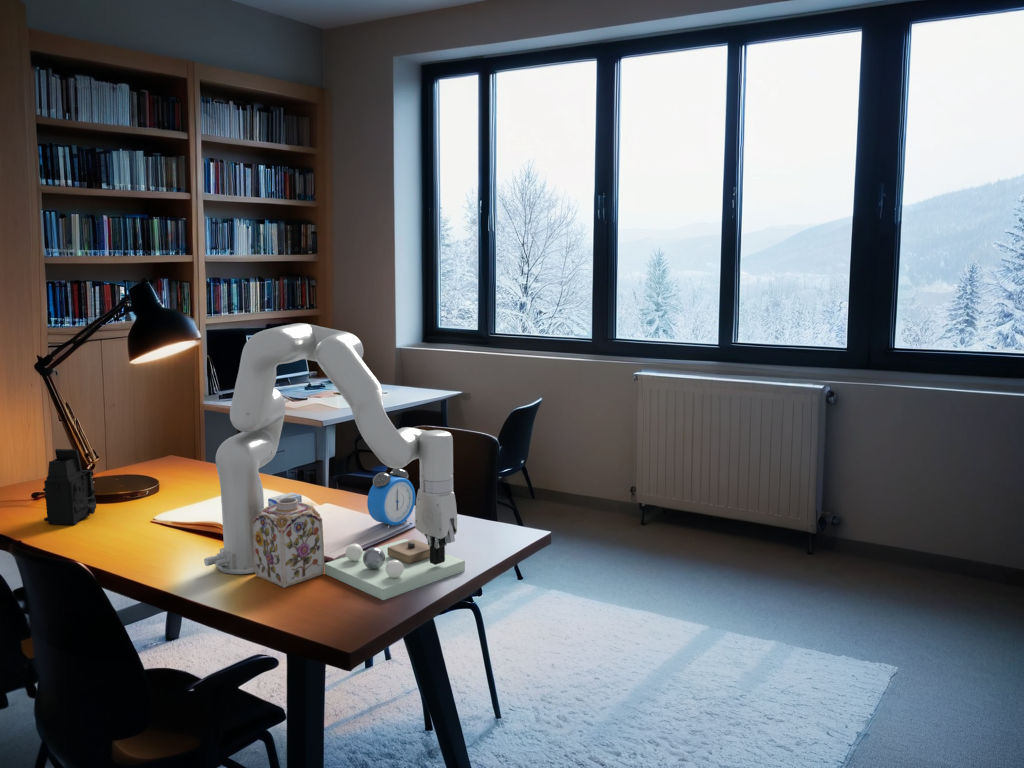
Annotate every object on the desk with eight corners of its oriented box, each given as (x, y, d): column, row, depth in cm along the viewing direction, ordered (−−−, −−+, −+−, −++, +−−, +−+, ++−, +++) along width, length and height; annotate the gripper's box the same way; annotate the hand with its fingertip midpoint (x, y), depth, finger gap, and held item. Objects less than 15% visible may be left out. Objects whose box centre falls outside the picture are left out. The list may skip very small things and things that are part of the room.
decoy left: (352, 564, 199) (352, 548, 198) (342, 560, 201) (342, 544, 201) (366, 560, 201) (366, 544, 201) (356, 556, 204) (356, 540, 204)
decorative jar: (295, 562, 207) (293, 490, 204) (326, 574, 200) (323, 499, 197) (252, 576, 198) (249, 501, 195) (282, 589, 191) (279, 511, 188)
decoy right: (393, 582, 188) (393, 564, 188) (382, 577, 191) (381, 560, 190) (407, 577, 191) (407, 560, 191) (396, 572, 194) (396, 555, 193)
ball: (372, 574, 193) (371, 553, 192) (358, 568, 196) (358, 547, 195) (389, 568, 196) (389, 547, 196) (376, 563, 200) (375, 542, 199)
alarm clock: (382, 531, 229) (381, 477, 227) (366, 527, 233) (365, 473, 231) (416, 519, 240) (415, 467, 237) (400, 515, 243) (399, 464, 241)
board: (383, 600, 185) (383, 589, 184) (324, 573, 200) (324, 563, 199) (464, 570, 202) (464, 560, 202) (405, 548, 217) (405, 538, 217)
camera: (105, 511, 246) (100, 443, 243) (76, 526, 233) (71, 454, 230) (72, 510, 247) (66, 442, 244) (42, 525, 234) (35, 453, 231)
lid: (409, 563, 198) (409, 551, 198) (387, 555, 204) (387, 543, 203) (435, 555, 204) (435, 543, 204) (413, 547, 210) (413, 535, 209)
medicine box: (293, 522, 237) (291, 491, 236) (303, 525, 235) (302, 494, 233) (268, 529, 231) (267, 498, 230) (278, 532, 229) (277, 501, 227)
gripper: (402, 482, 197) (404, 558, 200) (446, 495, 187) (447, 575, 190) (427, 476, 203) (428, 550, 205) (471, 488, 192) (471, 566, 195)
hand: (437, 562), depth 198 cm, fingers closed
